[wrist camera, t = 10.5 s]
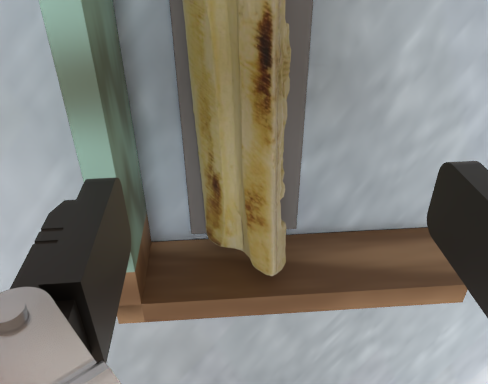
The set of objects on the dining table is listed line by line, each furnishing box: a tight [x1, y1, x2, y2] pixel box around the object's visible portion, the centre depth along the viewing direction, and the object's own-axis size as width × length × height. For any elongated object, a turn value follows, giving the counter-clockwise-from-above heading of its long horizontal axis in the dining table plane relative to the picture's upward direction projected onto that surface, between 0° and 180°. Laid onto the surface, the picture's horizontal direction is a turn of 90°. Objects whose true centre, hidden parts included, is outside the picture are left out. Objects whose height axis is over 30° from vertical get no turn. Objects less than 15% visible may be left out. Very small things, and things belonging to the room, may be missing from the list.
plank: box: [182, 0, 291, 276], centre depth 20 cm, size 23×5×5 cm, turn 3°
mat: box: [169, 0, 313, 234], centre depth 22 cm, size 24×7×1 cm, turn 0°
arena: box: [39, 0, 467, 324], centre depth 22 cm, size 24×21×6 cm
